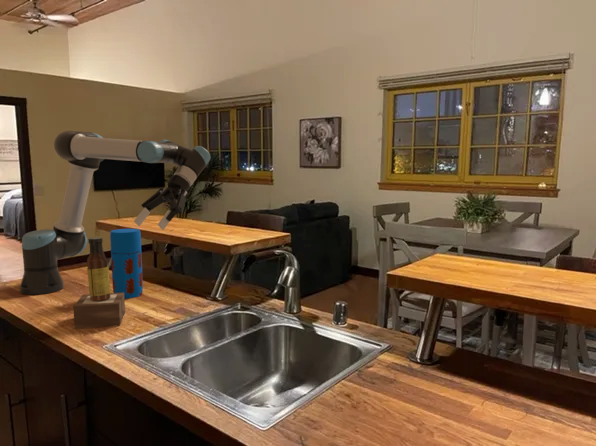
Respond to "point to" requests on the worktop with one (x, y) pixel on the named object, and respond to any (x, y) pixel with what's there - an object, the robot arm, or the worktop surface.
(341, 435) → the worktop surface
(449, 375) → the worktop surface
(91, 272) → the sauce bottle
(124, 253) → the thermos
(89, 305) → the block
